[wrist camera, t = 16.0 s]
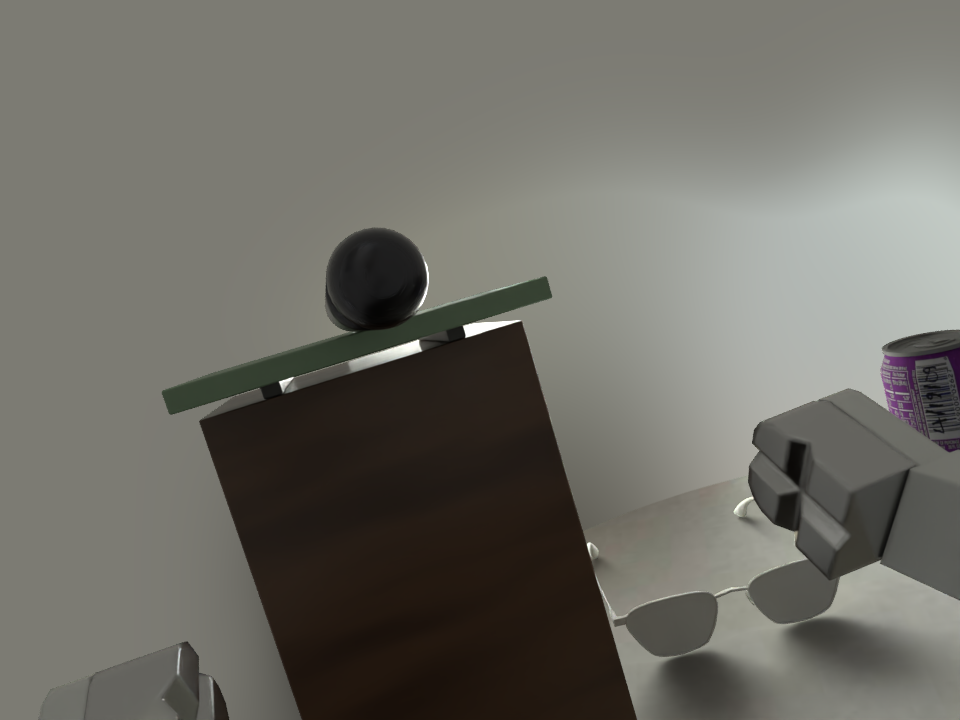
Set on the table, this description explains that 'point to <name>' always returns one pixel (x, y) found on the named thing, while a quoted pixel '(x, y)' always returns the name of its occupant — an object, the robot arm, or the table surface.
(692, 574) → the table surface
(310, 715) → the cabinet
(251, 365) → the door
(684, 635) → the eyeglasses
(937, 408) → the beverage can
